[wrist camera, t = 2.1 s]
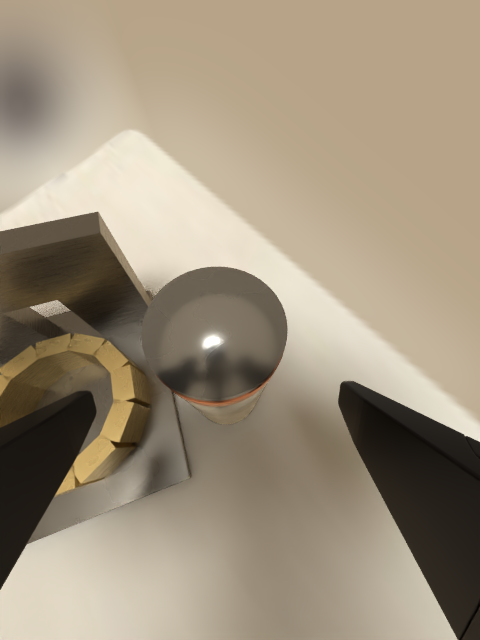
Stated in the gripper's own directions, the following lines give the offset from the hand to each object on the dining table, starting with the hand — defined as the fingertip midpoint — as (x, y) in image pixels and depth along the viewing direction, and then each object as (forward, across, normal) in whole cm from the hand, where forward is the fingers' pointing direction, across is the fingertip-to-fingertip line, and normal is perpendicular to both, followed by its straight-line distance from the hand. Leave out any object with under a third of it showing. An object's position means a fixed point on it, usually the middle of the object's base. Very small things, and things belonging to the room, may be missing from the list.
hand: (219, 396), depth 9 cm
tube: (+8, 0, +5) cm, 10 cm away
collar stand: (+8, +10, +5) cm, 14 cm away
